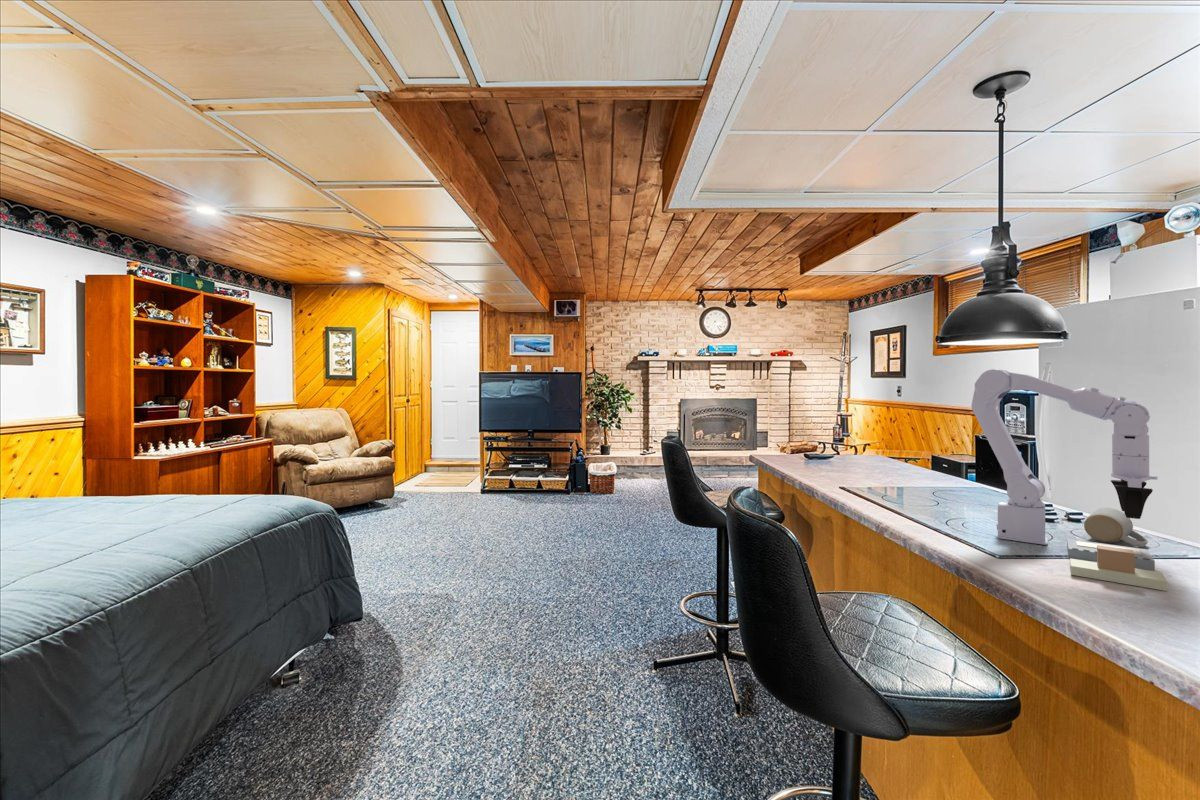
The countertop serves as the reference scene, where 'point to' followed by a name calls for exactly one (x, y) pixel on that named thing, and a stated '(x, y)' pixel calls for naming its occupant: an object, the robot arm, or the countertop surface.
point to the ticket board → (1089, 549)
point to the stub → (1118, 569)
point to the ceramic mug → (1112, 527)
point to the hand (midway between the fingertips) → (1130, 514)
